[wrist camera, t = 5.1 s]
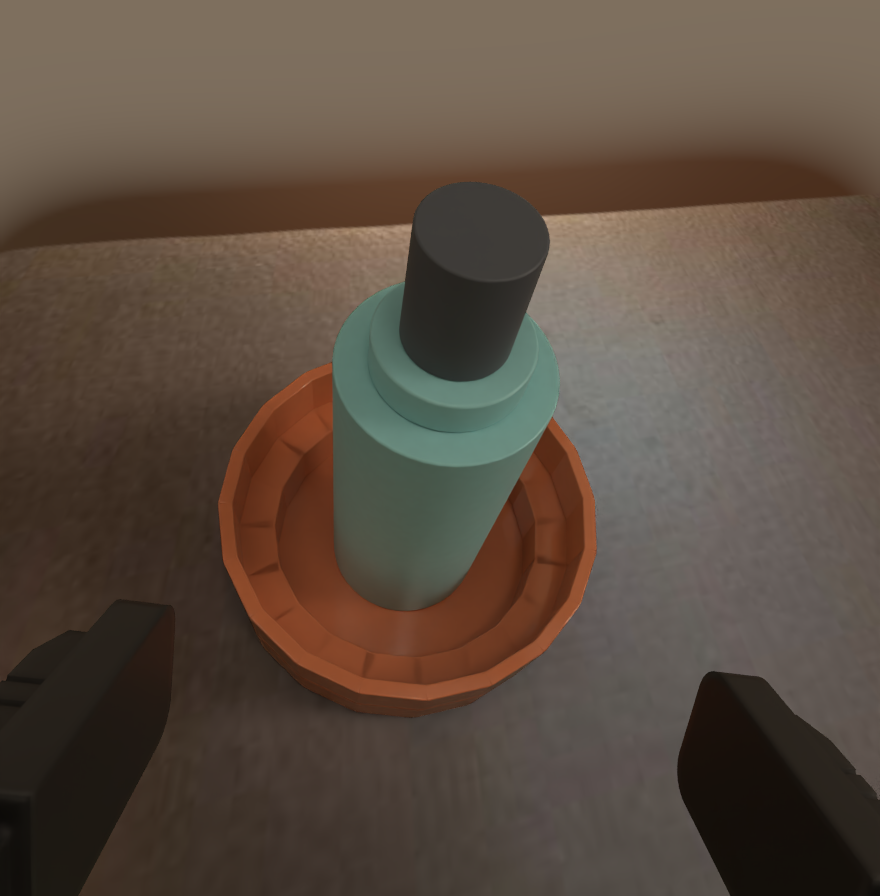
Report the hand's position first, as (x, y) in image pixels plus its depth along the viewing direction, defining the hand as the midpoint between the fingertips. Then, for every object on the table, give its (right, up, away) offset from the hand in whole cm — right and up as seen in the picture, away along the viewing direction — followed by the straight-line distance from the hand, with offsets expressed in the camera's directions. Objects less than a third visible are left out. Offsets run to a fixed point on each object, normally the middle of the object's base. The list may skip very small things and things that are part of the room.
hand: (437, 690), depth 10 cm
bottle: (-2, 0, +19) cm, 19 cm away
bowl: (-2, -1, +19) cm, 19 cm away
